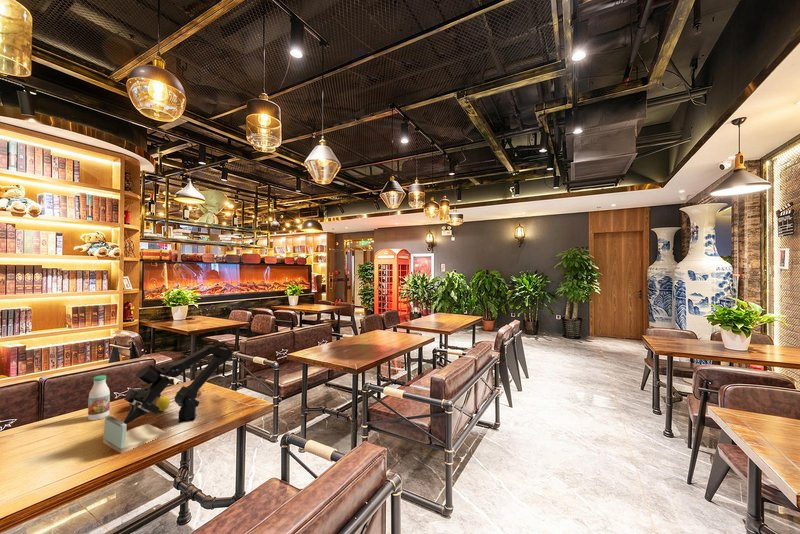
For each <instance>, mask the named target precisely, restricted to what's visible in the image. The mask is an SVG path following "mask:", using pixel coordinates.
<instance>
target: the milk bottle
mask: <svg viewBox="0 0 800 534" xmlns="http://www.w3.org/2000/svg"><path fill="white" fill-rule="evenodd" d="M106 381H107V375H104V374H103V375H97V376H94V377H93V385H92V387H91V390H90V391H89V394H88V402H87V403H88V405H87V407H88V408H87V419H88V420H89V421H97V420H98V419H99V420H101V419H105V416H110V411H111V410H110V408H111V407H110V402H111V398H110V397H111V394H110V393H111V392H110V388H109V387H108V384H107V382H106Z"/></svg>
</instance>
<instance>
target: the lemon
mask: <svg viewBox="0 0 800 534" xmlns="http://www.w3.org/2000/svg"><path fill="white" fill-rule="evenodd" d="M170 404H171V403H170V398H169V397H168V396H166V395H163V396H162V395H161V396H160V398H159V399H158V401H157V404H156V406H158V407H159V412H162V411H163V412H164V411H166V410H167V409H168V408H169V406H170Z"/></svg>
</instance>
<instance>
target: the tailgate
mask: <svg viewBox="0 0 800 534" xmlns="http://www.w3.org/2000/svg"><path fill="white" fill-rule="evenodd" d="M127 425H128V424H125V423H124V421H121V420H119V419H117V418H116V417H114V416H110V415H108V416H105V418H104V425H103V427H104V428H103V439H105V440H107V441H109V442H110V443H112V444H114V445H115V446H117V447H119V448H120V449H122V448H125V439H126V431H127V427H128V426H127Z"/></svg>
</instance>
